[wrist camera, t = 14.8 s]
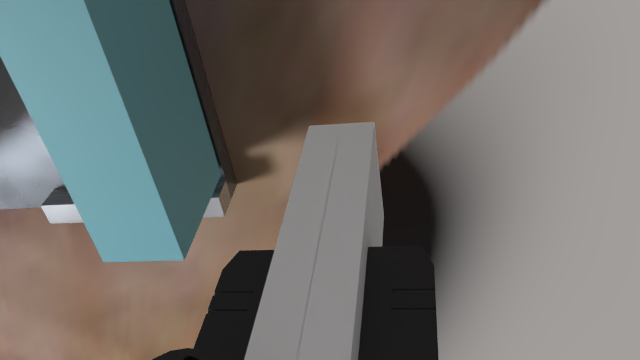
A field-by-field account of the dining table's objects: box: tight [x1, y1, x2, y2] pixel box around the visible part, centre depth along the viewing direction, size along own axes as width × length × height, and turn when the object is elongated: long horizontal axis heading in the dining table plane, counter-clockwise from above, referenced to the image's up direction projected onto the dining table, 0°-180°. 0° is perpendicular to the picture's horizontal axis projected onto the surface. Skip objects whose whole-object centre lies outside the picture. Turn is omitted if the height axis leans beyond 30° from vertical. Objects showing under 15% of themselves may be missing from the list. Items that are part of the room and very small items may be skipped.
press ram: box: [0, 0, 221, 262], centre depth 19 cm, size 4×10×5 cm, turn 8°
